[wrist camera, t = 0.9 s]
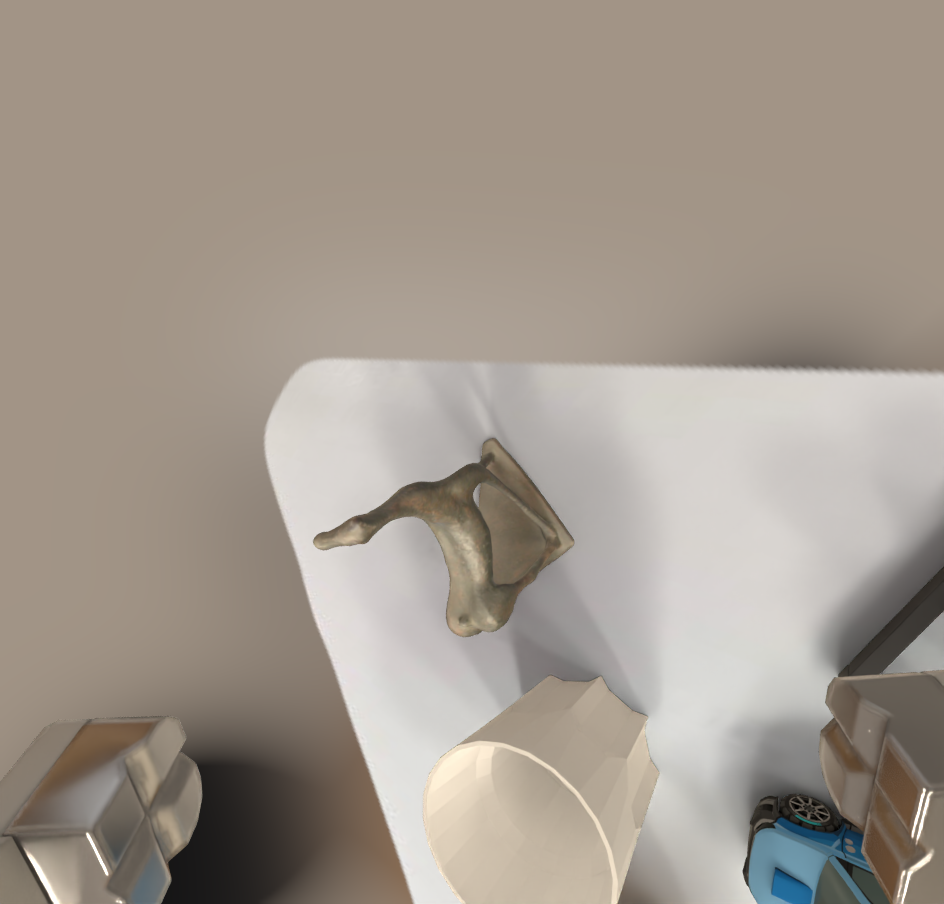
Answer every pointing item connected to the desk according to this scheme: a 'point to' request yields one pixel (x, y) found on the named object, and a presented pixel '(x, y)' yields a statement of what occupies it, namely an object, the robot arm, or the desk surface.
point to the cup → (543, 799)
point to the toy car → (807, 856)
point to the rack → (900, 630)
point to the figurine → (475, 535)
